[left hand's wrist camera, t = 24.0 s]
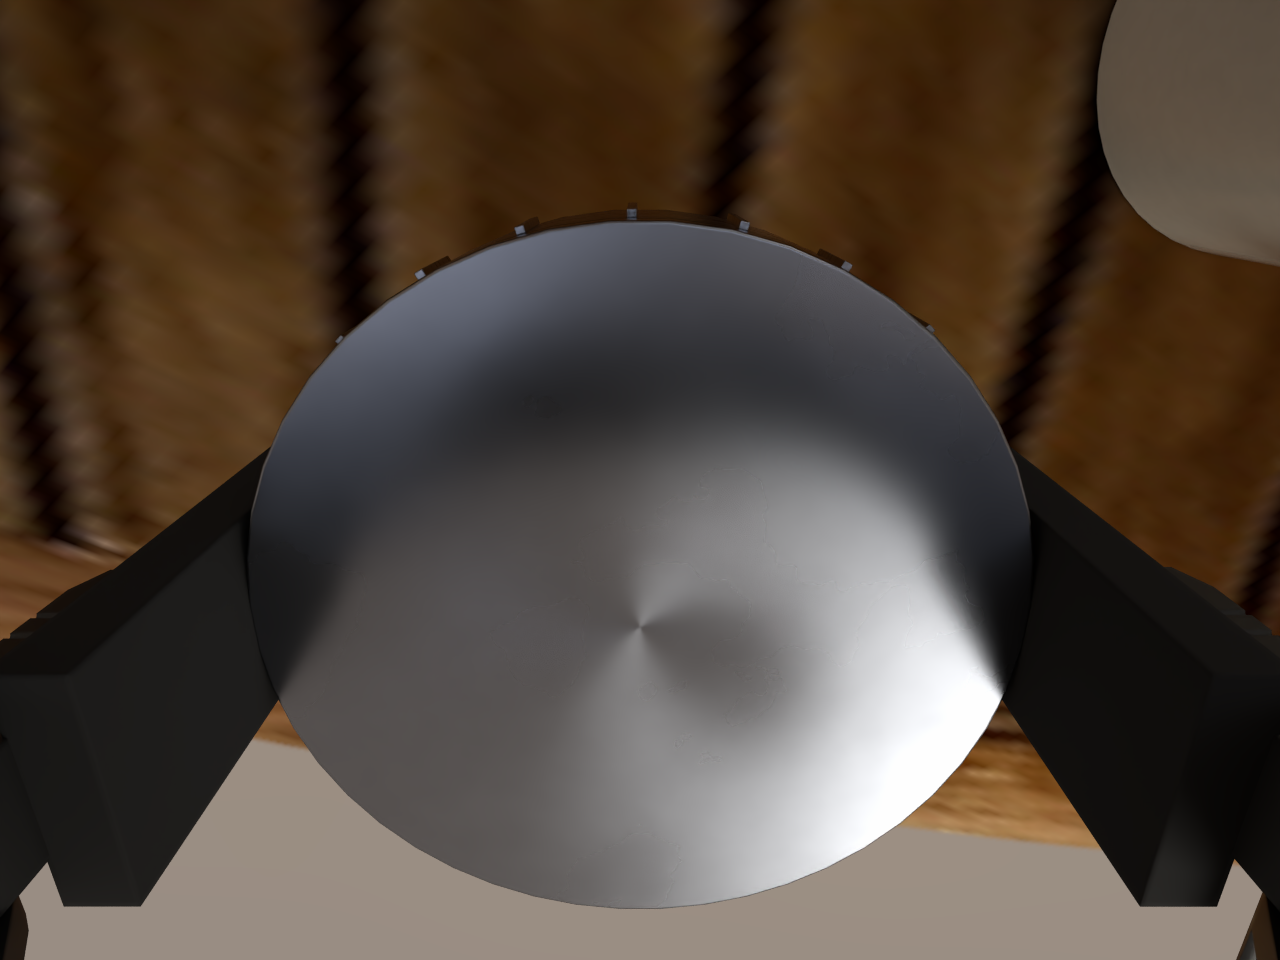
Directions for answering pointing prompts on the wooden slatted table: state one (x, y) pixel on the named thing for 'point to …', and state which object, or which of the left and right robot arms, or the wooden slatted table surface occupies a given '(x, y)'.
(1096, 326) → the wooden slatted table surface
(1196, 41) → the jar
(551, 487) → the lid
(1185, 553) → the wooden slatted table surface
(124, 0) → the wooden slatted table surface
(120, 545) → the wooden slatted table surface
